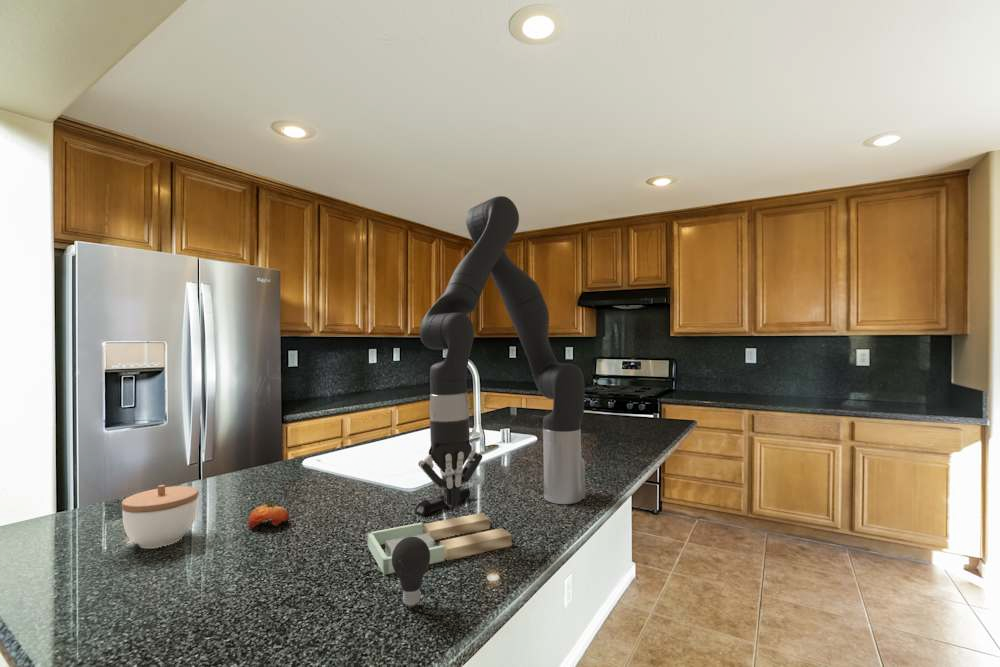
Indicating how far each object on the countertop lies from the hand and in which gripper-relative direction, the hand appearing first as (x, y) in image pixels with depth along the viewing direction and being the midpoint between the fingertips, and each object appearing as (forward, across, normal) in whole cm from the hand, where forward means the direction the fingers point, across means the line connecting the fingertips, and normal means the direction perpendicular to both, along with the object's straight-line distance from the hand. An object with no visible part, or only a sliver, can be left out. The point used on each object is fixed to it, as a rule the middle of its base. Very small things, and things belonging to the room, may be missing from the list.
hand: (452, 505), depth 94 cm
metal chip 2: (+7, +7, 0) cm, 10 cm away
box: (+7, +10, -1) cm, 12 cm away
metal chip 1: (+7, +11, 0) cm, 13 cm away
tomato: (+7, +31, -28) cm, 43 cm away
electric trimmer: (+8, -6, -21) cm, 23 cm away
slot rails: (+7, -3, 0) cm, 8 cm away
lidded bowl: (+6, +50, -30) cm, 59 cm away
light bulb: (+7, +14, +17) cm, 23 cm away
